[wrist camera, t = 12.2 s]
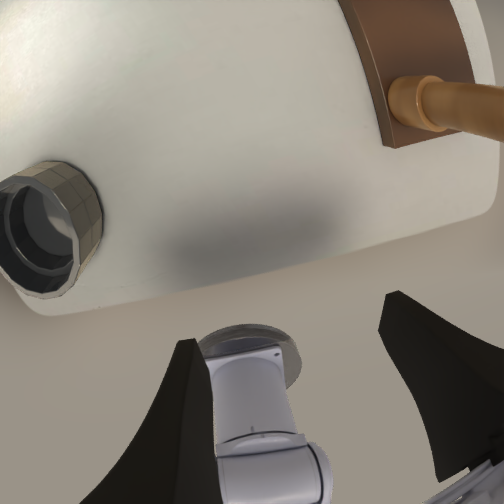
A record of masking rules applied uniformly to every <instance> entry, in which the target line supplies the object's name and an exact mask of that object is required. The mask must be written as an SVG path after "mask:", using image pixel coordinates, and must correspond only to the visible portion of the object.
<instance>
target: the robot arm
mask: <svg viewBox="0 0 504 504" xmlns="http://www.w3.org/2000/svg"><path fill="white" fill-rule="evenodd" d="M378 332H379V334H380V336H381V338H382V341H383V344H384V346H385V348H386V350H387V352H388V354H389V356H390V357H391V359H392V360H393V362H394V364H395V366H396V368H397V369H398V371H399V373H400V374H401V376H402V378H403V379H404V381H405V383H406V385H407V386H408V388H409V390H410V392H411V393H412V396H413V398H414V400H415V402H416V404H417V407H418V409H419V412H420V414H421V417H422V420H423V423H424V426H425V429H426V432H427V435H428V439H429V443H430V446H431V450H432V455H433V460H434V466H435V473H436V477H437V479H438V482H439V483H440V482H442V481H444V480H446V479H448V478H450V477H451V476H453V475H455V474H457V473H459V472H460V471H462V470H464V469H465V468H466V467H468V468H469V470H470V472H469V473H468V474H467V475H465V476H464V477H462V478H461V479H460V480H458V481H457V482H455V483H454V484H452V485H451V486H449V487H448V488H446V489H444V490H443V491H441V492H440V493H438V494H436V495H435V496H433V497H431V498H430V499H428V500H426V501H424V502H422V503H421V504H504V349H502V348H499V347H496V346H494V345H491V344H489V343H487V342H485V341H483V340H481V339H478V338H476V337H474V336H472V335H470V334H468V333H467V332H465V331H463V330H461V329H460V328H458V327H456V326H454V325H453V324H451V323H450V322H448V321H446V320H445V319H443V318H441V317H440V316H438V315H436V314H435V313H434V312H432V311H430V310H429V309H427V308H426V307H424V306H423V305H421V304H420V303H418V302H417V301H415V300H413V299H412V298H410V297H409V296H407V295H405V294H404V293H402V292H401V291H399V290H398V291H395V292H392V293H389V294H386V296H385V301H384V306H383V311H382V315H381V320H380V324H379V329H378ZM276 353H277V354H276ZM212 391H213V394H212ZM213 401H214V413H215V425H216V436H217V444H216V452H217V457H216V456H215V454H214V435H213ZM332 490H333V473H332V468H331V465H330V462H329V459H328V457H327V455H326V453H325V451H324V450H323V449H322V448H321V447H319V446H318V445H317V444H316V443H314V442H307V441H306V438H305V435H304V434H298V432H297V429H296V425H295V422H294V418H293V415H292V411H291V408H290V404H289V401H288V397H287V394H286V386H285V377H284V368H283V359H282V351H281V347H280V346H272V347H267V348H263V349H258V350H253V351H248V352H243V353H238V354H232V355H227V356H221V357H215V358H209V359H204V358H203V355H202V353H201V351H200V348H199V346H198V344H197V341H196V339H195V338H193V339H187V340H180V341H178V343H177V344H176V347H175V350H174V353H173V355H172V358H171V361H170V363H169V366H168V368H167V371H166V373H165V376H164V378H163V381H162V383H161V385H160V388H159V390H158V392H157V395H156V397H155V399H154V401H153V403H152V405H151V407H150V409H149V411H148V413H147V415H146V417H145V419H144V421H143V423H142V424H141V426H140V428H139V430H138V432H137V433H136V435H135V436H134V438H133V440H132V441H131V443H130V444H129V446H128V447H127V449H126V450H125V452H124V453H123V455H122V456H121V457H120V459H119V460H118V462H117V463H116V464H115V465H114V467H113V468H112V469H111V470H110V471H109V473H108V474H107V475H106V476H105V478H104V479H103V480H102V481H101V482H100V483H99V484H98V486H97V487H96V488H95V489H94V490H93V491H92V492H91V493H89V494H88V496H86V497H85V498H84V499H83V500H82V501H81V502H80V503H79V504H331V493H332ZM461 496H462V498H461V499H459V500H457V501H455V500H456V499H458V498H459V497H461ZM453 501H454V502H453Z"/></svg>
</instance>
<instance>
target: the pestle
mask: <svg viewBox="0 0 504 504" xmlns="http://www.w3.org/2000/svg"><path fill="white" fill-rule="evenodd" d="M388 103H389V107H390V110H391V112H392V114H393V116H394V117H395V118H396V119H397V120H398V121H399V122H400V123H401V124H403V125H405V126H409V127H414V128H420V129H425V130H429V131H434V132H442V131H444V130H446V129H447V128H450V129H455V130H459V131H463V132H467V133H471V134H475V135H479V136H483V137H486V138H490V139H493V140H496V141H500V142H503V143H504V87H502V86H494V85H485V84H475V83H461V82H444V81H443V80H442V79H440V78H439V77H436V76H433V75H423V76H403V77H399V78H397V79H395V80H394V81H393V82H392V84H391V85H390V88H389V91H388Z"/></svg>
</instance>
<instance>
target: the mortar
mask: <svg viewBox="0 0 504 504" xmlns="http://www.w3.org/2000/svg"><path fill="white" fill-rule="evenodd" d="M101 236H102V212H101V209H100V206H99V203H98V199H97V196H96V193H95V191H94V189H93V188H92V187H91V185H90V184H89V183H88V181H87V180H86V179H85V177H84V176H83V175H82V174H81V173H80V172H79V171H77V170H75V169H74V168H72V167H70V166H69V165H67V164H65V163H63V162H51V161H45V162H42V163H39V164H37V165H35V166H32V167H30V168H27V169H25V170H23V171H21V172H18V173H16V174H14V175H12V176H10V177H8V178H7V179H5V180H3V181H1V182H0V272H1V273H2V275H3V276H4V277H5V278H6V279H7V281H8V282H9V283H10V284H11V285H13V286H14V287H16V288H17V289H19V290H20V291H22V292H23V293H24V294H27V295H29V296H33V297H36V298H40V299H50V298H55V297H60V296H62V295H63V294H64V293H65V292H66V291H68V290H69V289H70V288H71V287H72V286H73V285H74V284H75V282H76V281H77V279H78V278H79V276H80V274H81V273H82V271H83V270H84V268H85V267H86V265H87V264H88V262H89V261H90V259H91V258H92V256H93V255H94V253H95V251H96V248H97V246H98V244H99V241H100V239H101Z"/></svg>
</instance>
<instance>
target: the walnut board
mask: <svg viewBox="0 0 504 504" xmlns="http://www.w3.org/2000/svg"><path fill="white" fill-rule="evenodd" d="M338 1H339V3H340V6H341V8H342V10H343V12H344V15H345V17H346V20H347V22H348V25H349V27H350V30H351V32H352V35H353V37H354V40H355V43H356V46H357V49H358V51H359V54H360V57H361V60H362V63H363V66H364V70H365V73H366V76H367V80H368V83H369V86H370V90H371V94H372V97H373V101H374V105H375V109H376V113H377V117H378V122H379V126H380V131H381V136H382V141H383V145H384V146H387V147H391V148H394V149H396V148H400V147H403V146H407V145H410V144H414V143H418V142H422V141H426V140H429V139H433V138H437V137H441V136H445V135H450V134H454V133H458V132H462V131H459V130H455V129H450V128H447V129H446V130H444V131H442V132H434V131H429V130H425V129H420V128H414V127H409V126H405V125H403V124H401V123H400V122H399V121H398V120H397V119H396V118H395V117H394V116H393V114H392V112H391V110H390V107H389V103H388V91H389V88H390V85H391V84H392V82H393V81H394V80H395V79H397V78H399V77H403V76H423V75H433V76H436V77H439V78H440V79H442V80H443V81H444V82H461V83H475V80H474V75H473V71H472V66H471V62H470V59H469V55H468V51H467V48H466V44H465V41H464V38H463V35H462V32H461V29H460V26H459V23H458V20H457V18H456V15H455V12H454V10H453V7H452V5H451V3H450V0H338Z"/></svg>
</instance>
